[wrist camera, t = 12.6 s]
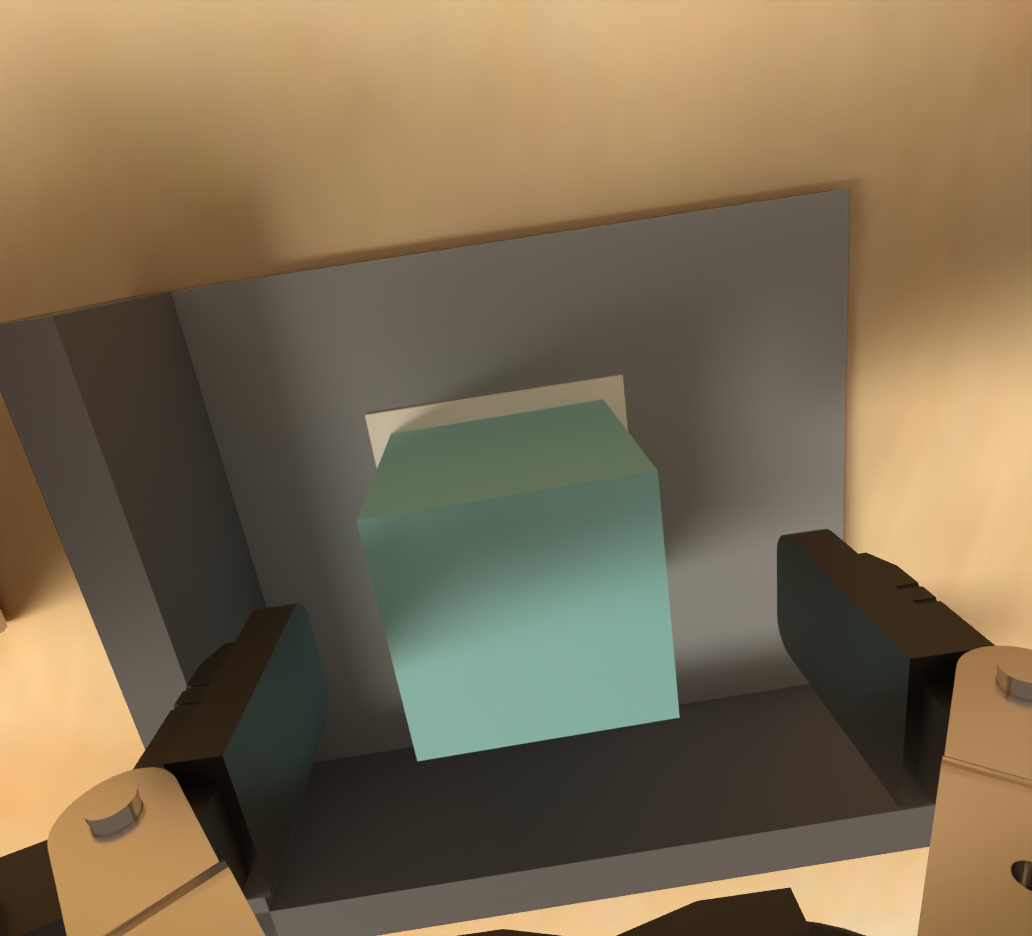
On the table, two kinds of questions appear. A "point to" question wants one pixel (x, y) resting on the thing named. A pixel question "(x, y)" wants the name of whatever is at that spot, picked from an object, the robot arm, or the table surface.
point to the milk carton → (2, 622)
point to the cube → (521, 579)
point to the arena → (345, 574)
